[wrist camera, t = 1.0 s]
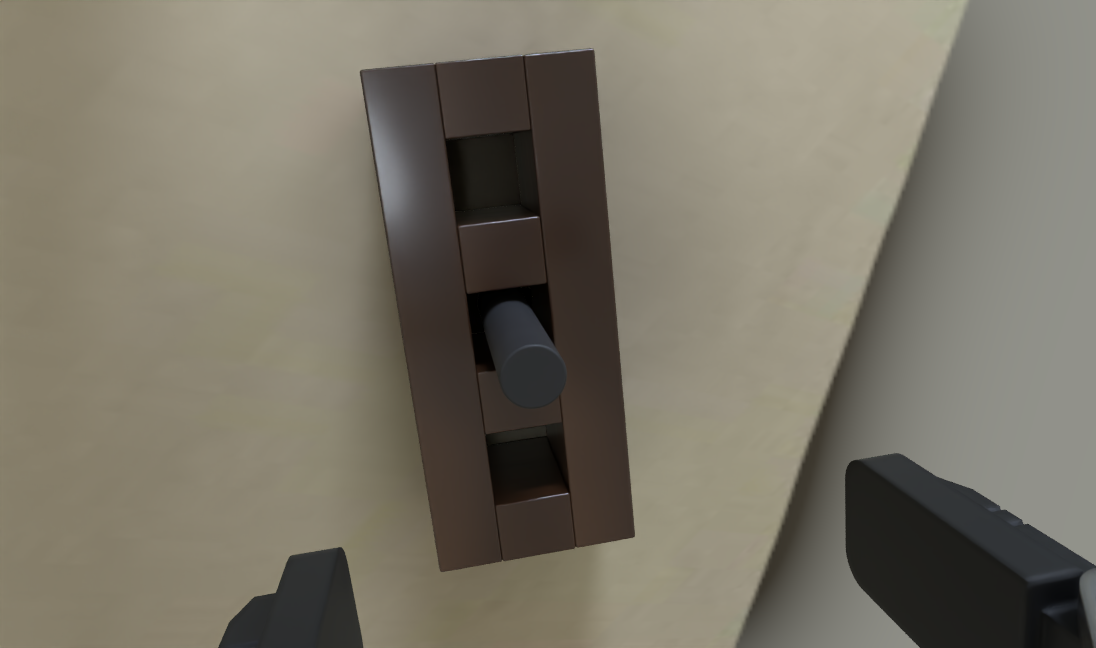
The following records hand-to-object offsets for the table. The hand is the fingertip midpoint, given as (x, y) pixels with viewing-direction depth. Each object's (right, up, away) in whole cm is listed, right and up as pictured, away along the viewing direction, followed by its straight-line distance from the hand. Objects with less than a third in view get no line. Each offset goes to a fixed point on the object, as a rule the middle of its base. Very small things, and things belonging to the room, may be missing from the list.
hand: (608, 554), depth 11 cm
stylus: (-3, +5, +21) cm, 22 cm away
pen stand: (-3, +5, +21) cm, 22 cm away
